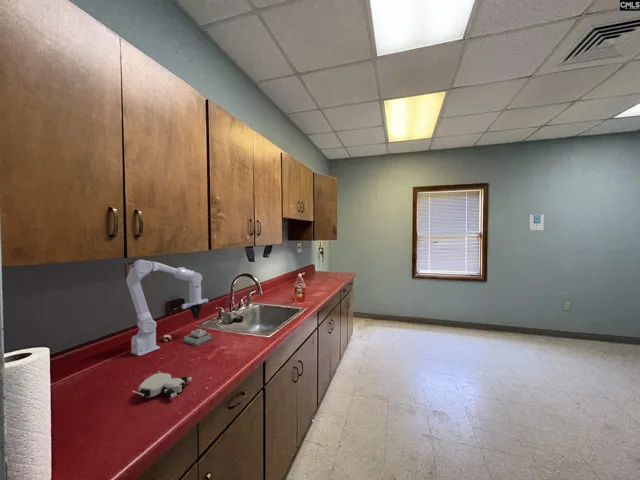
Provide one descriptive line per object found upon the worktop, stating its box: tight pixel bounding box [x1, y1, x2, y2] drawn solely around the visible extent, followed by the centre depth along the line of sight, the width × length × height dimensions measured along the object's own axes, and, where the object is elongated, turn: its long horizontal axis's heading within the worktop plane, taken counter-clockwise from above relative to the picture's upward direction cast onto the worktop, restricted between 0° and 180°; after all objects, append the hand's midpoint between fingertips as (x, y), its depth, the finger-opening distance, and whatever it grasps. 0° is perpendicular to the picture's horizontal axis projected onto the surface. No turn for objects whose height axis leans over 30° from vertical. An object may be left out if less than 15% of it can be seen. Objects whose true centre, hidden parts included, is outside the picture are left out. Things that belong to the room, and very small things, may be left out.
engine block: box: [190, 328, 207, 339], centre depth 133 cm, size 4×6×5 cm
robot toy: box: [131, 371, 193, 399], centre depth 89 cm, size 12×4×15 cm
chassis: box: [181, 332, 215, 347], centre depth 133 cm, size 10×12×3 cm
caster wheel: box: [220, 310, 244, 325], centre depth 161 cm, size 7×11×10 cm
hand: (195, 318), depth 139 cm, fingers closed
